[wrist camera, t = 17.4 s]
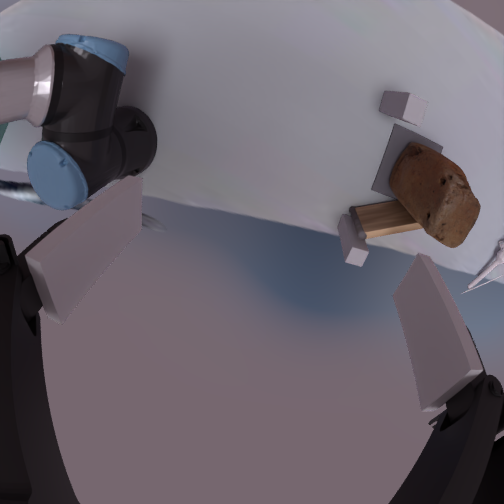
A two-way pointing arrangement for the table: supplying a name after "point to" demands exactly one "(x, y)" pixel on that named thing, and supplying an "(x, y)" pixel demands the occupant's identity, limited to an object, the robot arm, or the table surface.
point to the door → (382, 219)
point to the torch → (489, 268)
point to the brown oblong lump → (435, 194)
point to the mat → (397, 156)
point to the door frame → (400, 108)
